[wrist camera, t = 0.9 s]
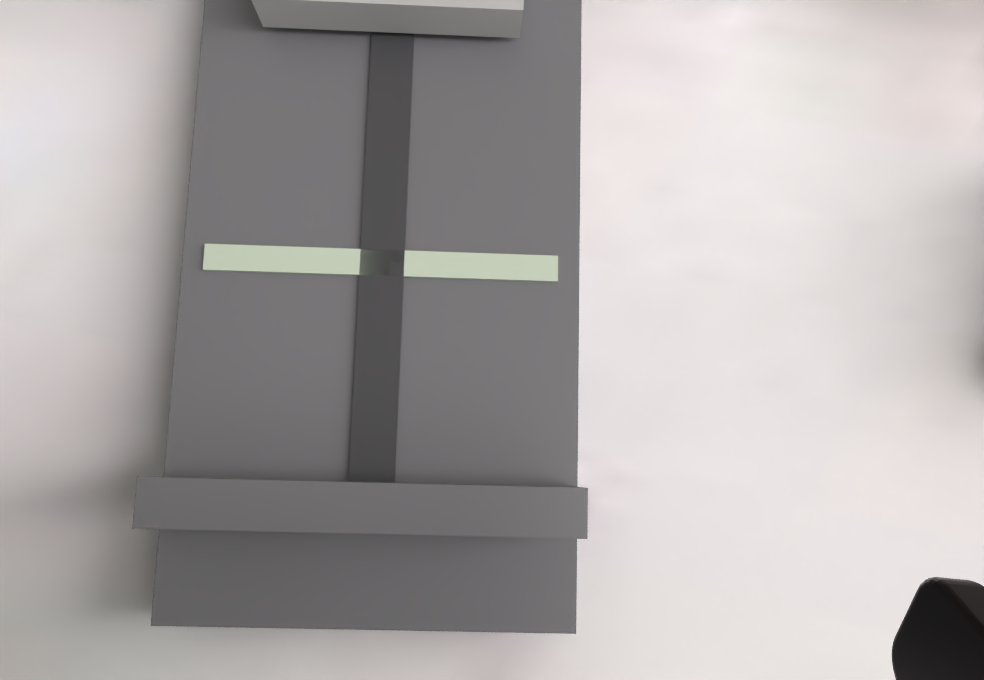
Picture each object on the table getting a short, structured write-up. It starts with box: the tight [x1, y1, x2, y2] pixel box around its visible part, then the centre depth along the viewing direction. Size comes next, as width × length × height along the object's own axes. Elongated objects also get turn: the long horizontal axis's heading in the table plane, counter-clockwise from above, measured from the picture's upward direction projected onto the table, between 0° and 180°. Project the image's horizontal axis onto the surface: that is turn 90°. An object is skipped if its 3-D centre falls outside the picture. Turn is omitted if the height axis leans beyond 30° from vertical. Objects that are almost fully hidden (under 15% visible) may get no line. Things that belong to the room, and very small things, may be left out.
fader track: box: [132, 0, 588, 634], centre depth 19 cm, size 22×9×3 cm, turn 179°
